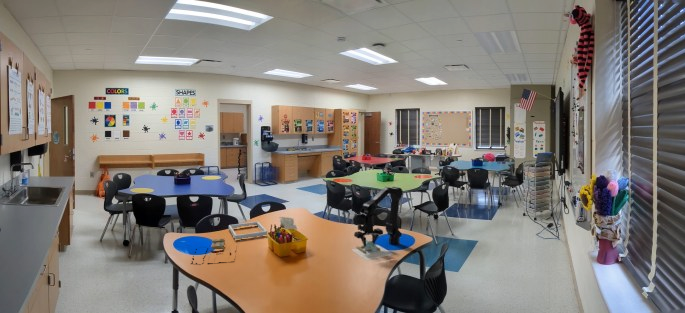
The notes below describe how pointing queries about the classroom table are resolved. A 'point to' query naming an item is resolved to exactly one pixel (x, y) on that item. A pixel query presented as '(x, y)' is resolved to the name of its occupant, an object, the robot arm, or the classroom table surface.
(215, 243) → the pile of dominoes
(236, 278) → the classroom table surface
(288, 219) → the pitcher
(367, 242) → the teal dome with tabs
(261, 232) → the train corral
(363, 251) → the cradle
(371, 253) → the board
